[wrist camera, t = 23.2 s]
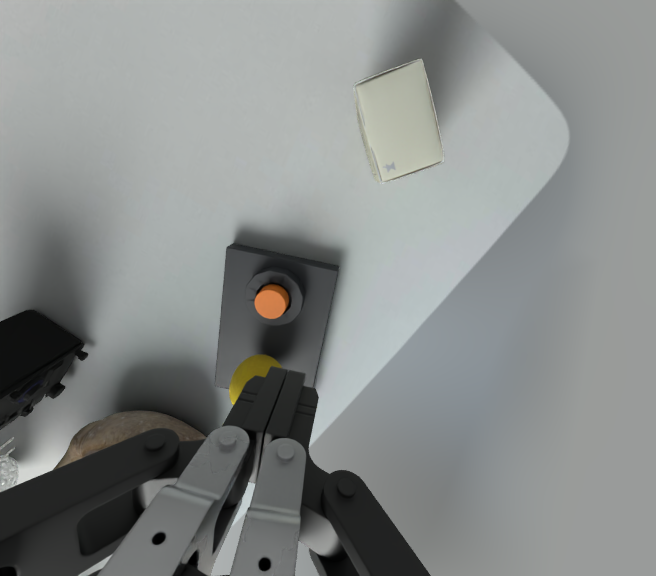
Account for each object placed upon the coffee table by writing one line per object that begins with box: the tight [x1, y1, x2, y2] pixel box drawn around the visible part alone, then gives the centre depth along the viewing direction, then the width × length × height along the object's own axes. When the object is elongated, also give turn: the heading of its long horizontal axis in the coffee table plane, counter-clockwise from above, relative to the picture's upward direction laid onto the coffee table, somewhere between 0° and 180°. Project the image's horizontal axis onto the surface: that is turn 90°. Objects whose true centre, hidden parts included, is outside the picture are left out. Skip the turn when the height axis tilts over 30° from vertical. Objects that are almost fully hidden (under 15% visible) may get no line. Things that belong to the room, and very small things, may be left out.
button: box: [255, 284, 289, 319], centre depth 34 cm, size 3×3×2 cm
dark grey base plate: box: [215, 243, 339, 389], centre depth 38 cm, size 12×18×4 cm, turn 169°
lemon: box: [229, 355, 282, 405], centre depth 36 cm, size 6×6×8 cm
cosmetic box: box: [353, 58, 445, 184], centre depth 26 cm, size 6×4×12 cm
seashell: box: [53, 411, 206, 470], centre depth 43 cm, size 16×17×15 cm
